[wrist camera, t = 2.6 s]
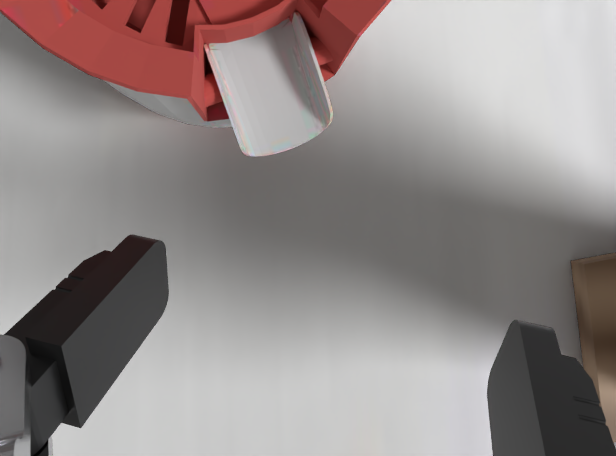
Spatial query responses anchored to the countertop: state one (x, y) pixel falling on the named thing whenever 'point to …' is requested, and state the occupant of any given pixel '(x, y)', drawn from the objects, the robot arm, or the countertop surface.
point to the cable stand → (598, 327)
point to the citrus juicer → (210, 57)
